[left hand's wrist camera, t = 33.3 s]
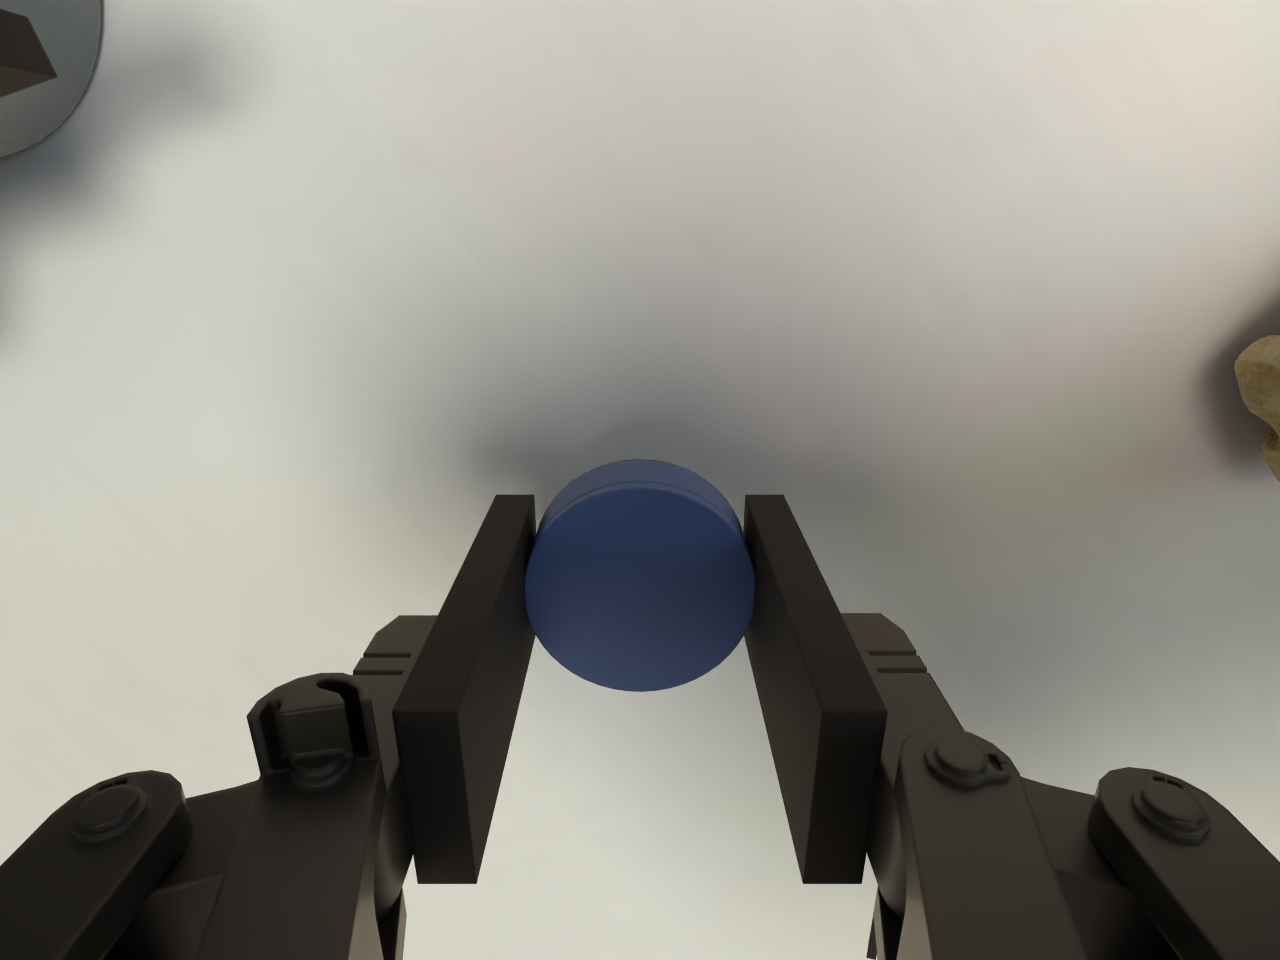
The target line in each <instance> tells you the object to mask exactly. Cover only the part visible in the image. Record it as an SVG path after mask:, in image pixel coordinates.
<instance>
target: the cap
mask: <svg viewBox="0 0 1280 960" xmlns="http://www.w3.org/2000/svg"><path fill="white" fill-rule="evenodd" d="M754 589H755V571H754V566H753V563H752V560H751V557H750V554H749V550H748V547H747V544H746V541H745V537H744V534H743V531H742V528H741V525H740V522H739V520H738V518H737V516H736V514H735V512H734V510H733V508H732V507H731V505H730V504H729V503H728V501H727V500H726V498H725V497H724V496H723V495H722V494H721V493H720V492H719V491H718V490H717V489H716V488H715V487H714V486H713V485H711V484H710V483H709V482H708V481H707V480H705V479H703V478H702V477H700V476H699V475H697V474H695V473H694V472H691V471H689V470H687V469H685V468H683V467H680V466H677V465H673V464H670V463H666V462H661V461H655V460H641V459H638V460H624V461H619V462H614V463H609V464H606V465H603V466H600V467H597V468H595V469H593V470H591V471H589V472H586V473H584V474H583V475H581V476H580V477H578V478H577V479H575V480H573V481H572V482H571V483H570V484H568V485H567V486H566V487H565V488H564V489H563V490H561V492H560V493H559V494H558V495H557V496H556V497H555V498H554V499H553V501H552V502H551V504H550V505H549V507H548V508H547V510H546V511H545V513H544V515H543V517H542V520H541V522H540V524H539V527H538V531H537V534H536V537H535V540H534V544H533V547H532V550H531V553H530V557H529V560H528V563H527V567H526V571H525V597H526V611H527V615H528V618H529V622H530V624H531V626H532V628H533V630H534V632H535V634H536V636H537V638H538V639H539V641H540V642H541V644H542V645H543V647H544V648H545V649H546V650H547V651H548V652H549V654H550V655H551V656H552V657H553V658H554V659H555V660H557V661H558V662H559V663H560V664H561V665H562V666H564V667H565V668H567V669H568V670H569V671H571V672H572V673H574V674H576V675H578V676H579V677H581V678H583V679H585V680H587V681H590V682H592V683H595V684H597V685H601V686H604V687H608V688H612V689H617V690H624V691H638V692H643V691H656V690H662V689H668V688H672V687H676V686H679V685H683V684H685V683H687V682H690V681H692V680H695V679H697V678H699V677H700V676H702V675H704V674H706V673H708V672H709V671H711V670H712V669H713V668H715V667H716V666H717V665H719V664H720V663H721V662H722V661H723V660H724V659H725V658H726V657H728V656H729V655H730V653H731V652H732V651H733V650H734V649H735V647H736V646H737V645H738V644H739V642H740V640H741V639H742V637H743V636H744V634H745V632H746V630H747V628H748V626H749V623H750V621H751V618H752V615H753V604H754Z"/></svg>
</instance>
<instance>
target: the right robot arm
mask: <svg viewBox="0 0 1280 960" xmlns="http://www.w3.org/2000/svg"><path fill="white" fill-rule="evenodd" d="M57 77H58V76H57V74H56V72H55V70H54V68H53V66H52V64H51V62H50V60H49V58H48V56H47V54H46V52H45V50H44V48H43V46H42V44H41V42H40V40H39V38H38V36H37V35H36V33H35V31H34V29H33V27H32V25H31V23H30V21H29V19H28V17H26V16H23V15H19V14H16V13H13V12H9V11H6V10H3V9H0V98H1V97H4V96H7V95H9V94H12V93H15V92H18V91H21V90H23V89H26V88H29V87H32V86H35V85H37V84H40V83H43V82H46V81H49V80H51V79H54V78H57Z"/></svg>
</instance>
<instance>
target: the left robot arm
mask: <svg viewBox="0 0 1280 960" xmlns="http://www.w3.org/2000/svg"><path fill="white" fill-rule="evenodd" d="M743 534H744V537H745V541H746V544H747V547H748V550H749V554H750V557H751V560H752V563H753V566H754V571H755V589H754V604H753V615H752V618H751V621H750V623H749V626H748V628H747V630H746V632H745V634H744V637H745V641H746V646H747V650H748V654H749V658H750V662H751V667H752V671H753V675H754V679H755V684H756V688H757V692H758V696H759V700H760V705H761V709H762V713H763V717H764V721H765V726H766V730H767V734H768V738H769V742H770V747H771V751H772V755H773V759H774V764H775V768H776V772H777V776H778V780H779V785H780V789H781V793H782V797H783V801H784V806H785V810H786V814H787V818H788V823H789V827H790V831H791V835H792V839H793V844H794V848H795V852H796V856H797V860H798V865H799V869H800V873H801V877H802V882H803V884H862V878H863V872H864V865H865V858H866V852H867V854H868V857H869V860H870V863H871V866H872V869H873V872H874V874H875V877H876V880H877V883H878V889H877V895H876V901H875V907H874V913H873V919H872V925H871V932H870V938H869V944H868V951H867V958H870V959H875V960H876V955H877V958H878V960H1280V862H1279V861H1278V860H1277V859H1276V858H1275V857H1274V856H1273V855H1272V854H1271V853H1270V852H1269V851H1268V850H1267V849H1266V848H1265V847H1264V846H1263V845H1262V844H1261V843H1260V842H1259V841H1258V840H1257V839H1256V838H1255V837H1254V836H1253V835H1252V834H1251V833H1250V832H1249V831H1248V830H1247V829H1246V828H1245V827H1244V826H1243V825H1242V824H1241V823H1240V822H1239V821H1238V820H1237V819H1236V818H1235V817H1234V816H1233V815H1232V814H1231V813H1230V812H1229V811H1228V810H1227V809H1226V808H1225V807H1223V806H1222V805H1221V804H1220V803H1218V802H1217V801H1216V800H1215V799H1213V798H1212V797H1211V796H1210V795H1208V794H1207V793H1206V792H1204V791H1202V790H1200V789H1198V788H1196V787H1194V786H1192V785H1191V784H1189V783H1187V782H1185V781H1183V780H1181V779H1179V778H1176V777H1173V776H1170V775H1167V774H1164V773H1161V772H1158V771H1155V770H1149V769H1140V768H1131V767H1127V768H1122V769H1117V770H1111V771H1109V772H1108V773H1107V774H1106V775H1105V776H1104V777H1103V778H1102V779H1100V780H1099V783H1098V787H1097V790H1096V794H1095V796H1094V795H1089V794H1085V793H1081V792H1076V791H1072V790H1068V789H1063V788H1059V787H1055V786H1050V785H1046V784H1042V783H1039V782H1036V781H1032V780H1029V779H1026V778H1023V777H1021V776H1020V774H1019V772H1018V770H1017V769H1016V767H1015V766H1014V764H1013V763H1012V761H1011V759H1010V758H1009V757H1008V756H1007V755H1006V754H1004V753H1003V752H1002V751H1001V750H1000V749H998V748H997V747H996V746H995V745H994V744H992V743H990V742H988V741H986V740H984V739H982V738H980V737H978V736H976V735H974V734H972V733H970V732H966V731H964V729H963V727H962V726H961V724H960V722H959V721H958V719H957V718H956V716H955V714H954V713H953V711H952V709H951V708H950V706H949V704H948V703H947V701H946V699H945V698H944V696H943V695H942V693H941V691H940V690H939V688H938V686H937V685H936V683H935V681H934V680H933V678H932V676H931V675H930V673H927V668H926V667H925V665H924V663H923V662H922V660H921V658H920V657H919V656H917V655H916V650H915V649H914V647H913V645H912V644H911V642H910V640H909V639H908V637H907V635H906V634H905V632H904V631H903V630H902V629H901V628H899V627H898V626H897V625H895V624H894V623H893V622H891V621H890V620H889V619H887V618H886V617H885V616H883V615H882V614H881V613H840V611H839V609H838V607H837V605H836V603H835V601H834V599H833V597H832V595H831V593H830V591H829V589H828V587H827V584H826V582H825V580H824V578H823V576H822V574H821V572H820V570H819V568H818V566H817V564H816V562H815V560H814V557H813V555H812V553H811V551H810V549H809V547H808V545H807V543H806V541H805V539H804V537H803V535H802V533H801V530H800V528H799V526H798V524H797V522H796V520H795V518H794V516H793V514H792V512H791V510H790V508H789V506H788V504H787V501H786V499H785V497H784V495H745V511H744V529H743ZM535 537H536V520H535V502H534V495H496V496H495V498H494V500H493V502H492V505H491V507H490V509H489V511H488V513H487V515H486V517H485V519H484V521H483V523H482V525H481V527H480V529H479V531H478V534H477V536H476V538H475V540H474V542H473V544H472V546H471V548H470V550H469V552H468V554H467V556H466V558H465V561H464V563H463V565H462V567H461V569H460V571H459V573H458V575H457V577H456V579H455V581H454V583H453V585H452V588H451V590H450V592H449V594H448V596H447V598H446V600H445V602H444V604H443V606H442V608H441V610H440V612H439V614H438V616H398V617H397V618H395V619H394V620H393V621H392V622H390V623H389V624H388V625H386V626H385V627H384V628H382V629H381V630H380V631H378V632H377V633H376V634H375V636H374V637H373V639H372V641H371V642H370V644H369V646H368V647H367V649H366V651H365V652H364V656H363V658H361V659H360V661H359V662H358V664H357V666H356V667H355V669H354V670H353V675H348V674H345V673H319V674H315V675H310V676H306V677H301V678H297V679H295V680H293V681H290V682H288V683H286V684H284V685H281V686H279V687H277V688H275V689H274V690H272V691H271V692H269V693H268V694H267V695H265V696H264V697H263V698H261V699H260V700H259V701H257V703H256V704H255V705H254V707H253V708H252V709H251V711H250V712H249V714H248V715H247V720H248V724H249V728H250V732H251V737H252V741H253V745H254V749H255V753H256V757H257V761H258V765H259V770H260V774H261V775H260V778H259V780H256V781H254V782H250V783H247V784H244V785H241V786H237V787H233V788H229V789H225V790H221V791H216V792H212V793H208V794H203V795H199V796H195V797H190V798H186V799H185V796H184V792H183V789H182V786H181V783H180V782H179V781H178V780H176V779H175V778H174V777H173V776H172V775H171V774H168V773H163V772H158V771H153V770H149V771H141V772H132V773H126V774H123V775H120V776H117V777H114V778H111V779H108V780H105V781H102V782H99V783H98V784H96V785H94V786H92V787H90V788H88V789H86V790H84V791H83V792H81V793H79V794H77V795H75V796H74V797H72V798H71V799H70V800H69V801H67V802H66V803H65V804H64V805H62V806H61V807H60V808H59V809H57V810H56V811H55V812H54V813H52V814H51V815H50V816H49V817H48V818H47V819H46V820H45V821H44V822H43V823H42V824H41V826H40V827H39V828H38V829H37V830H36V831H35V832H34V833H33V834H32V835H31V836H30V837H29V838H28V839H27V840H26V841H25V842H24V843H23V844H22V845H21V846H20V847H19V848H18V849H17V850H16V851H15V852H14V853H13V854H12V855H11V856H10V857H9V858H8V859H7V860H6V861H5V862H4V863H3V864H2V865H1V866H0V960H403V949H404V938H405V926H406V908H405V901H404V895H403V889H402V885H403V882H404V880H405V877H406V874H407V871H408V868H409V865H410V862H411V859H412V856H413V855H414V862H415V868H416V875H417V881H418V884H477V879H478V875H479V871H480V867H481V863H482V858H483V854H484V850H485V846H486V842H487V837H488V833H489V829H490V825H491V821H492V816H493V812H494V808H495V804H496V799H497V795H498V791H499V787H500V783H501V778H502V774H503V770H504V766H505V762H506V757H507V753H508V749H509V745H510V740H511V736H512V732H513V728H514V724H515V719H516V715H517V711H518V707H519V703H520V698H521V694H522V690H523V686H524V682H525V677H526V673H527V669H528V665H529V660H530V656H531V652H532V648H533V644H534V639H535V635H536V634H535V632H534V630H533V628H532V626H531V624H530V622H529V618H528V615H527V611H526V597H525V571H526V567H527V563H528V560H529V557H530V553H531V550H532V547H533V544H534V540H535Z"/></svg>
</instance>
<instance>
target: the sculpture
mask: <svg viewBox="0 0 1280 960" xmlns="http://www.w3.org/2000/svg"><path fill="white" fill-rule="evenodd" d="M1234 369H1235V375H1236V379H1237V383H1238V386H1239V390H1240V394H1241V397H1242V400H1243V402H1244V404H1245V406H1246V407H1247V409H1248V411H1250V412H1251V413H1253V414H1254V415H1256V416H1258V417H1260V418H1261V419H1262V420H1264V421H1265V422H1267V423H1268V424H1269V425H1270V426H1271V428H1270V429H1269V431H1268V432H1267V434H1266V435H1265V437H1264V438H1263V441H1262V444H1261V446H1262V451H1263V455H1264V457H1265V459H1266V461H1267V463H1268V464H1269V466H1270V468H1271V469H1272V471H1273V473H1274V474H1275V476H1276V478H1277V479H1278V481H1279V482H1280V335H1269V336H1266V337H1263V338H1260V339H1258V340H1257V341H1255V342H1254V343H1252V344H1251V345H1249V346H1248V347H1247V348H1246V349H1245V350H1243V351H1242V353H1241V354H1240V355H1239V356H1238V358H1237V359H1236V361H1235V364H1234Z"/></svg>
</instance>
